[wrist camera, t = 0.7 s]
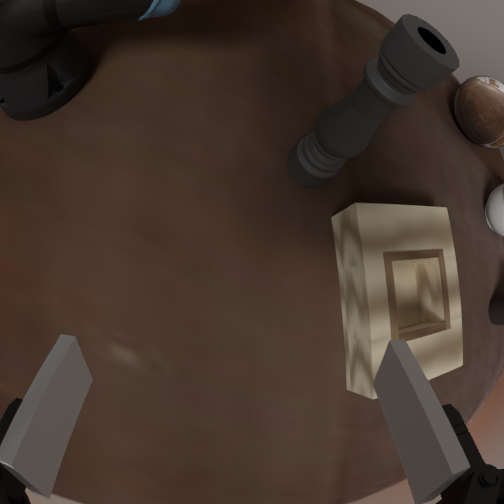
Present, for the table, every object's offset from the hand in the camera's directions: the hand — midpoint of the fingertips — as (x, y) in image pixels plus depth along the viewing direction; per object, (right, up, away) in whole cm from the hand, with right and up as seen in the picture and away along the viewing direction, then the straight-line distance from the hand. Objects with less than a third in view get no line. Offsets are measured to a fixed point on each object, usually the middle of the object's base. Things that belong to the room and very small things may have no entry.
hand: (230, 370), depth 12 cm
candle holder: (+8, +16, +28) cm, 34 cm away
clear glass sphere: (+46, +31, +40) cm, 69 cm away
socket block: (+20, -1, +28) cm, 34 cm away
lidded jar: (+49, +12, +37) cm, 62 cm away
